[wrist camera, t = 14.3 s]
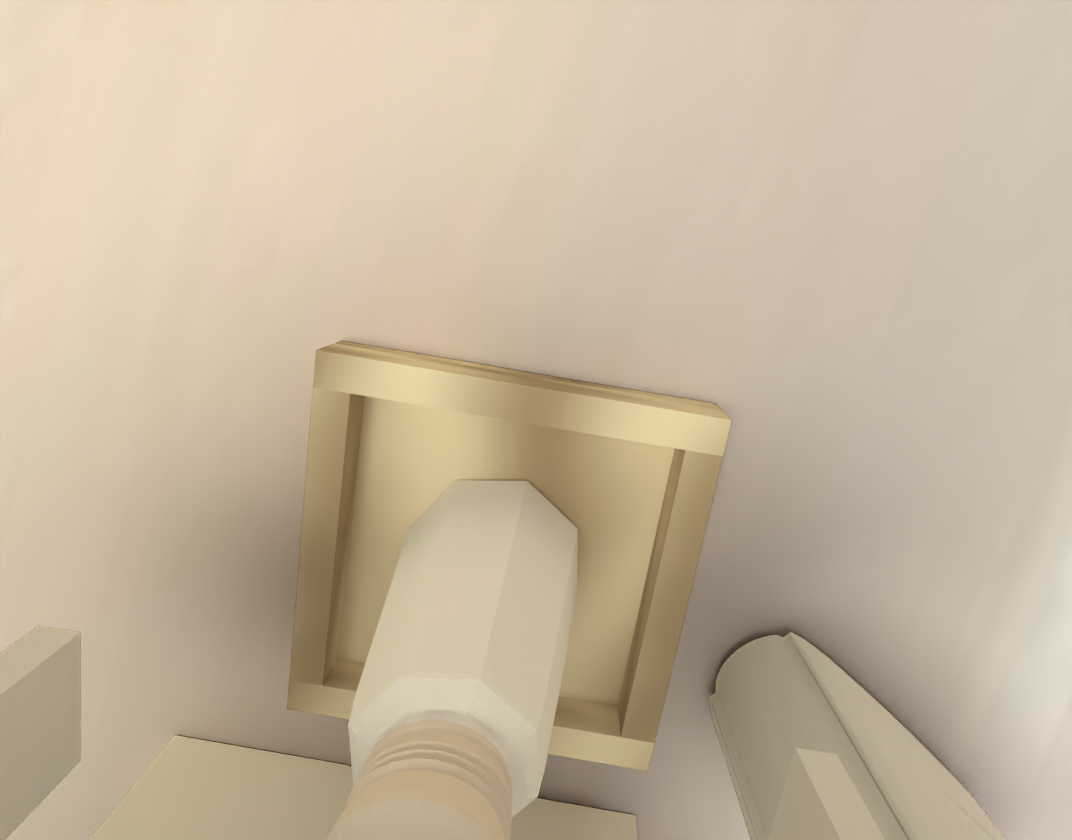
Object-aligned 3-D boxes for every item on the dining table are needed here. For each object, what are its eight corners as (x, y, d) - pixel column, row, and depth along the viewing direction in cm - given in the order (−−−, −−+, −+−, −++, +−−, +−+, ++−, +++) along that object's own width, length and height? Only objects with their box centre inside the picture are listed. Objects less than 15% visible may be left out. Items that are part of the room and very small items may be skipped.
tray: (311, 669, 22) (287, 708, 20) (341, 340, 20) (316, 350, 18) (640, 725, 22) (647, 771, 20) (715, 403, 19) (731, 420, 17)
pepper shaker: (440, 444, 19) (284, 673, 9) (613, 512, 20) (664, 817, 9) (381, 600, 21) (181, 965, 10) (543, 662, 21) (517, 1083, 10)
